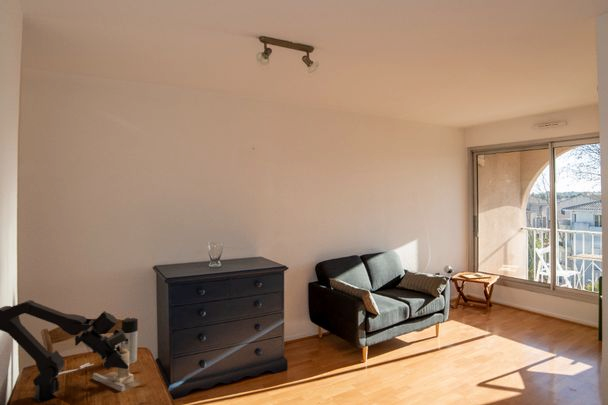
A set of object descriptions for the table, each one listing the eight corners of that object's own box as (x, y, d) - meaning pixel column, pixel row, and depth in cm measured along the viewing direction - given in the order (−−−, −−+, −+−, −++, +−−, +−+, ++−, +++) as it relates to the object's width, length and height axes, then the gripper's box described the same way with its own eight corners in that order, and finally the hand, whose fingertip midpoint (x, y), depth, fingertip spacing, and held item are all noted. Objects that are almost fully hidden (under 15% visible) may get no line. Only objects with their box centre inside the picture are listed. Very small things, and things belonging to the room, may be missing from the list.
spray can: (120, 362, 176) (121, 318, 177) (136, 360, 179) (137, 317, 179) (120, 368, 170) (121, 322, 171) (137, 365, 173) (138, 320, 173)
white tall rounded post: (120, 386, 149) (120, 353, 149) (112, 383, 152) (113, 350, 152) (133, 381, 153) (134, 348, 154) (126, 378, 156) (126, 346, 157)
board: (121, 395, 145) (121, 386, 145) (92, 382, 156) (92, 373, 156) (142, 386, 152) (143, 377, 153) (114, 374, 163) (114, 366, 163)
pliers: (50, 374, 161) (84, 361, 175) (50, 377, 161) (84, 364, 175) (66, 378, 157) (99, 365, 171) (66, 382, 157) (99, 368, 171)
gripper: (114, 331, 143) (146, 356, 148) (112, 319, 159) (140, 342, 164) (89, 357, 139) (122, 381, 144) (89, 341, 155) (119, 364, 160)
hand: (127, 365), depth 153 cm, fingers closed on white tall rounded post, 4 cm apart
